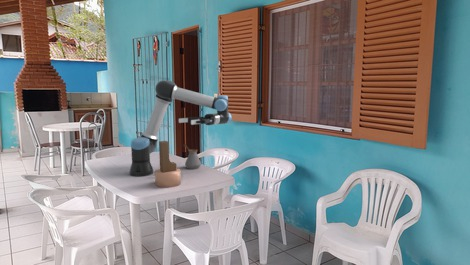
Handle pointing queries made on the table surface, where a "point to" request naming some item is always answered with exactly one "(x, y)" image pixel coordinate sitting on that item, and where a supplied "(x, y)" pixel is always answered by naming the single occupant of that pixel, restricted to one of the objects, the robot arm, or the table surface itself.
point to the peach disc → (167, 178)
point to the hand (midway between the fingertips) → (184, 121)
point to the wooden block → (165, 158)
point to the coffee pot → (192, 159)
